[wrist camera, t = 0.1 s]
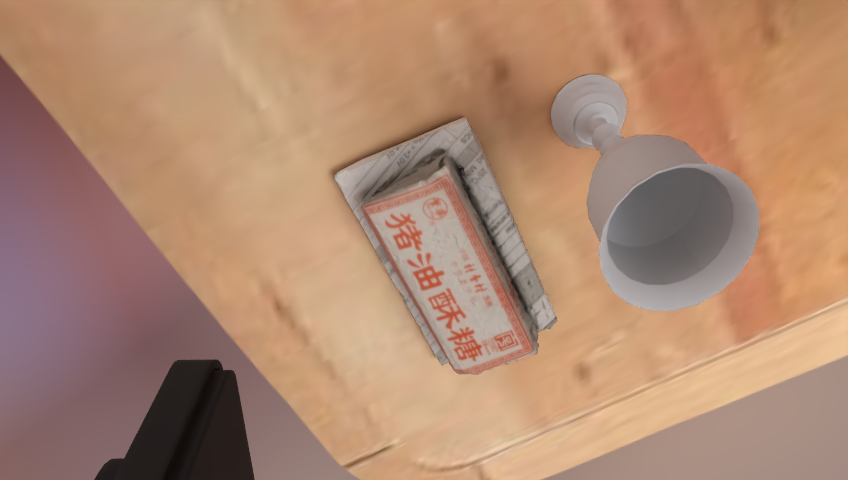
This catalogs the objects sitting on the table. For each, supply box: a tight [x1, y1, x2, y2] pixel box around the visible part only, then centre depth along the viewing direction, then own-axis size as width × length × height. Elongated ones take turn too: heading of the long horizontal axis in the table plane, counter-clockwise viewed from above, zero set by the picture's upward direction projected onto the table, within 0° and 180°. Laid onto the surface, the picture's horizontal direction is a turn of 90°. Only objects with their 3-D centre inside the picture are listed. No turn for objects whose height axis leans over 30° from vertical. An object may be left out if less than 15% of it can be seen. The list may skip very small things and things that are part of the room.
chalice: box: [551, 74, 759, 311], centre depth 37 cm, size 7×7×18 cm
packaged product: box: [334, 117, 557, 375], centre depth 48 cm, size 18×5×10 cm
